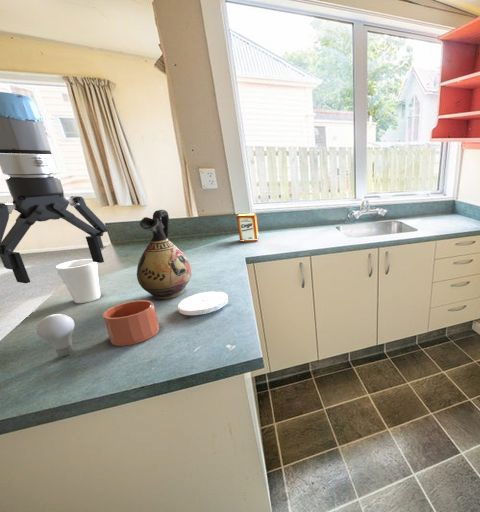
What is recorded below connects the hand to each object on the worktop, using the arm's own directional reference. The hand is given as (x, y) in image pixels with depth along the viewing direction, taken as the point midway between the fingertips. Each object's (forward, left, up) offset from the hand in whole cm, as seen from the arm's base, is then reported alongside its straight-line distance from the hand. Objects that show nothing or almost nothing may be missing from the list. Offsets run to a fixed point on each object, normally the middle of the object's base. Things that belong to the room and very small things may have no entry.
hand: (64, 271), depth 68 cm
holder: (+6, +7, -22) cm, 23 cm away
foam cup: (-27, +29, -22) cm, 45 cm away
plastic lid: (+16, +23, -22) cm, 35 cm away
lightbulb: (-4, -2, -22) cm, 22 cm away
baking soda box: (-4, +108, -22) cm, 110 cm away
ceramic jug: (-2, +34, -22) cm, 41 cm away
